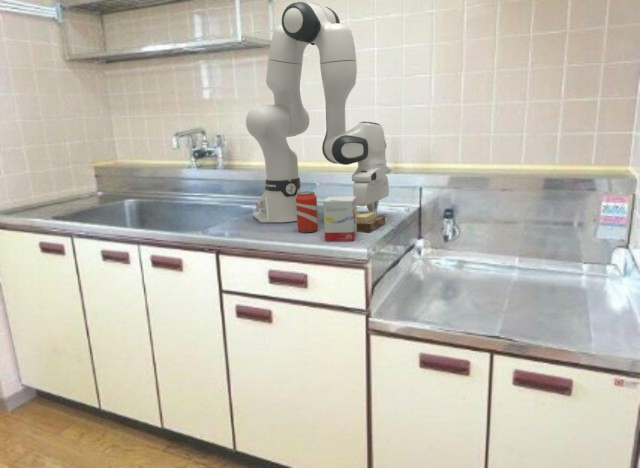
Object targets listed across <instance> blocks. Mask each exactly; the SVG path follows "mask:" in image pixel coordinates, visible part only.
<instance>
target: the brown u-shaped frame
mask: <svg viewBox="0 0 640 468" xmlns="http://www.w3.org/2000/svg"><path fill="white" fill-rule="evenodd" d="M384 224H385V225H386V216H383V215H382V216H379V217H378V218H377V217H376V219H375V220H373V221H371V222H369V223H357V233H368V234H369V233H372V232H374V231H375V229H376V230H377V229H379V228H380V227H383V226H384ZM382 225H383V226H382Z"/></svg>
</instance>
